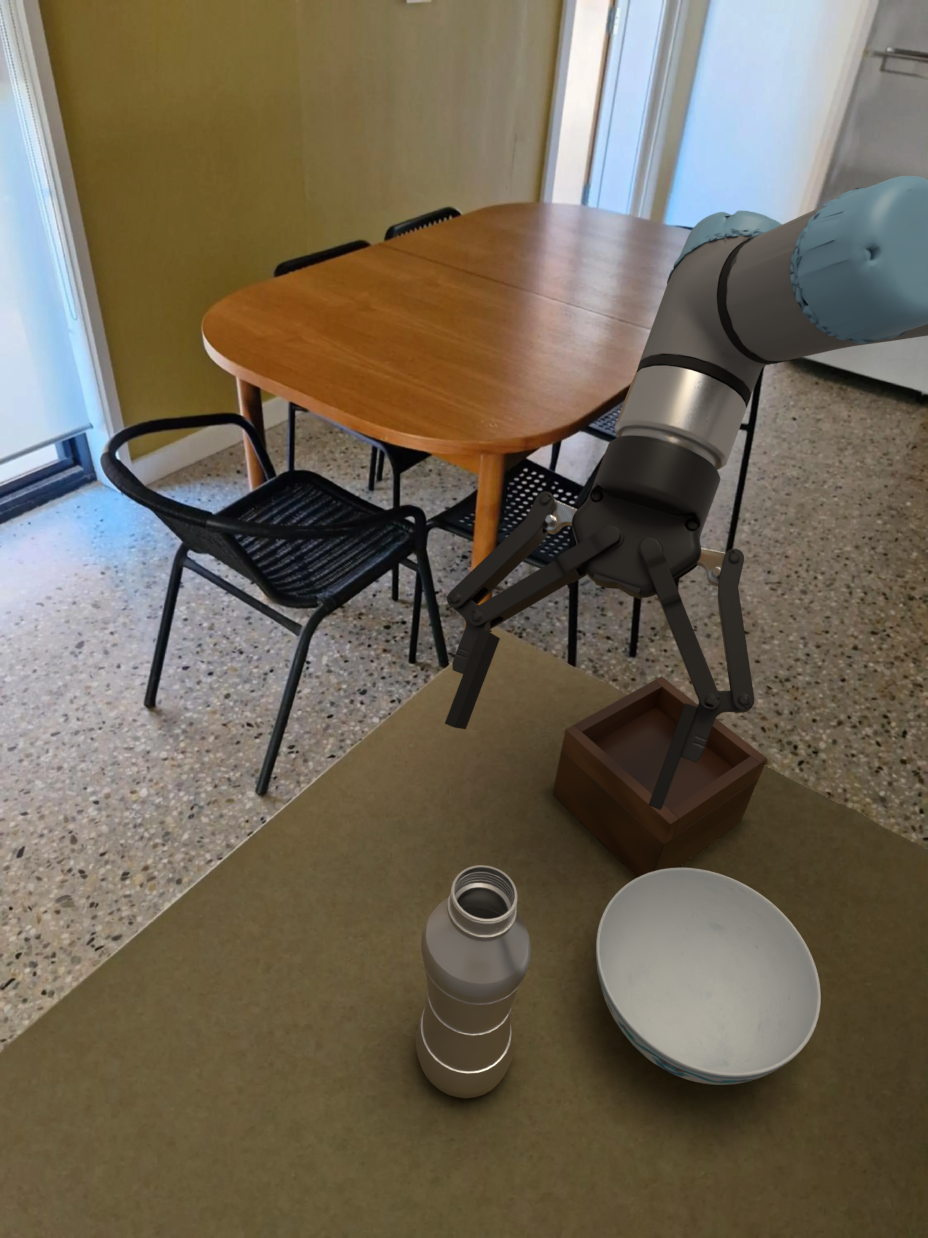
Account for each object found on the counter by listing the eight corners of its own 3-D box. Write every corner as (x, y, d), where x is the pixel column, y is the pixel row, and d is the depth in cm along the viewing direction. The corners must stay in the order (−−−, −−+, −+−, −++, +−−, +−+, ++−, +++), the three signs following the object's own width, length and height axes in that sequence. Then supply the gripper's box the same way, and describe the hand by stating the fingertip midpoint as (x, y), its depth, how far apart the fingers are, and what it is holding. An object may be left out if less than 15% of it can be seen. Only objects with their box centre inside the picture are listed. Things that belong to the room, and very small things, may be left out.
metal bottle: (479, 1130, 58) (509, 970, 45) (394, 1072, 61) (401, 905, 48) (526, 1047, 62) (565, 880, 50) (445, 996, 65) (463, 825, 52)
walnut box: (740, 822, 79) (767, 758, 74) (648, 889, 73) (670, 824, 68) (643, 739, 86) (661, 675, 81) (552, 794, 80) (565, 729, 75)
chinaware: (593, 1126, 59) (614, 1074, 54) (569, 922, 70) (584, 864, 65) (814, 1128, 60) (854, 1077, 55) (754, 927, 71) (782, 869, 66)
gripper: (855, 526, 57) (745, 838, 56) (502, 426, 65) (398, 700, 63) (877, 492, 50) (751, 849, 49) (477, 384, 57) (359, 692, 56)
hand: (551, 766), depth 56 cm, fingers open, 13 cm apart
